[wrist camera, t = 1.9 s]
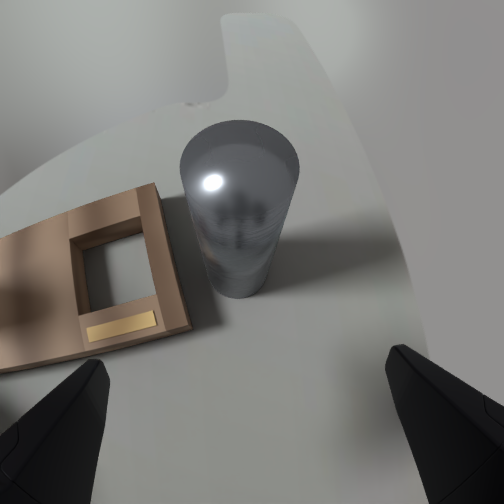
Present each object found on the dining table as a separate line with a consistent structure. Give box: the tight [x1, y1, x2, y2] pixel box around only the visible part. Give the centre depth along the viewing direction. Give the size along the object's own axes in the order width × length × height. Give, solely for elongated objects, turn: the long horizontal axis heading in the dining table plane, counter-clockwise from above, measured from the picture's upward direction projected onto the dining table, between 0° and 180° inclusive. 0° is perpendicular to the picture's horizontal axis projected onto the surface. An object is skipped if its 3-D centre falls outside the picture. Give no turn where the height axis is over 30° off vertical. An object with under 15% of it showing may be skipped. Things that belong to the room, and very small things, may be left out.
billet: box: [180, 120, 299, 299], centre depth 17 cm, size 4×4×13 cm
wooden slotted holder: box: [0, 183, 193, 374], centre depth 20 cm, size 24×11×3 cm, turn 108°
